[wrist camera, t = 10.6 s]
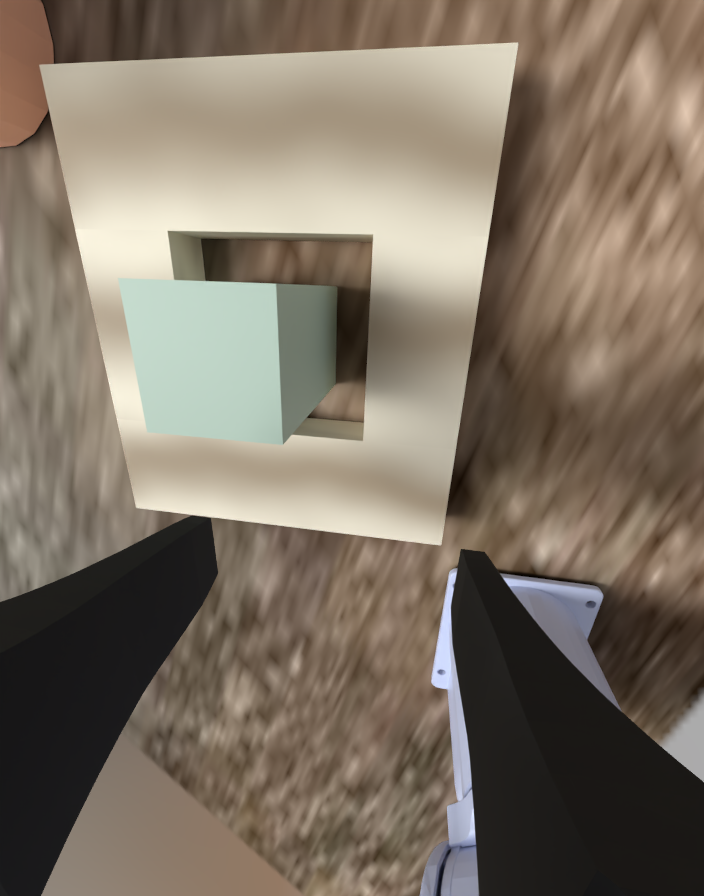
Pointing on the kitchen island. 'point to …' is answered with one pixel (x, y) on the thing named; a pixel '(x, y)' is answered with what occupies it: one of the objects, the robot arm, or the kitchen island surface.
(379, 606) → the kitchen island surface
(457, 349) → the board with square hole
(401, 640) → the kitchen island surface
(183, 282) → the peg
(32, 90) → the salt shaker
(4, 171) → the kitchen island surface
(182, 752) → the kitchen island surface
